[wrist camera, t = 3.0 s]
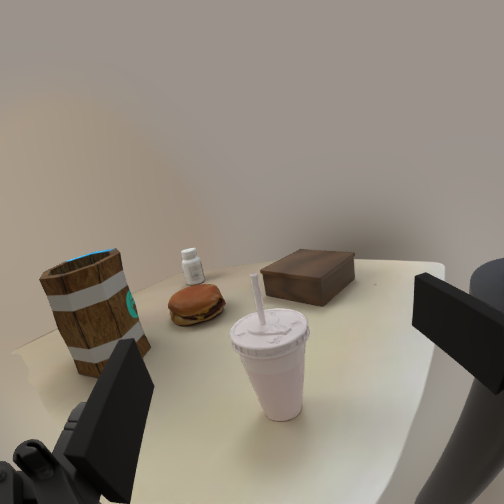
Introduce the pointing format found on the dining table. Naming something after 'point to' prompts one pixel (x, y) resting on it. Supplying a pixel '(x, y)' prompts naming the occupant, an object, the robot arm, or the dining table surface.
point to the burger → (196, 304)
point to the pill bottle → (192, 267)
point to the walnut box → (309, 276)
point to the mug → (93, 308)
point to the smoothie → (273, 355)
